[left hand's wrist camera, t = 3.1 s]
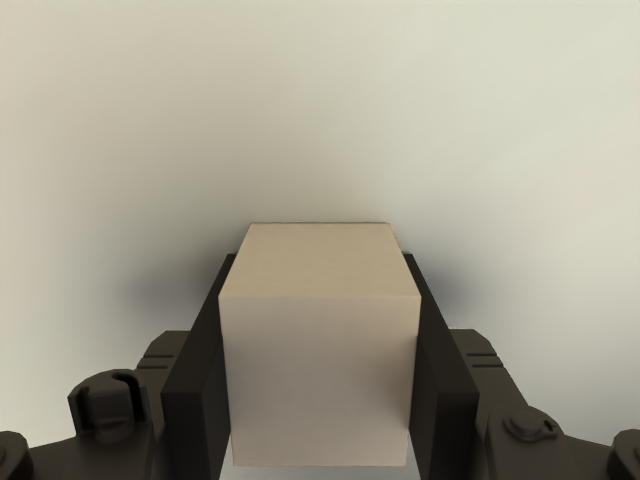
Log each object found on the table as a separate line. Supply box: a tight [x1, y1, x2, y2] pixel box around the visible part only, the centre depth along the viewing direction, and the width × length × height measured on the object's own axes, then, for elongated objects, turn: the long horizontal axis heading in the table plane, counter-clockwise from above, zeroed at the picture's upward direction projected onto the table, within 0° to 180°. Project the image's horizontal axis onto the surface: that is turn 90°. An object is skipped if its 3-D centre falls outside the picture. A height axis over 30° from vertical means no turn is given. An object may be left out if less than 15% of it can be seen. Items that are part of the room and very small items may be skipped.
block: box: [218, 223, 421, 466], centre depth 13 cm, size 4×5×5 cm
